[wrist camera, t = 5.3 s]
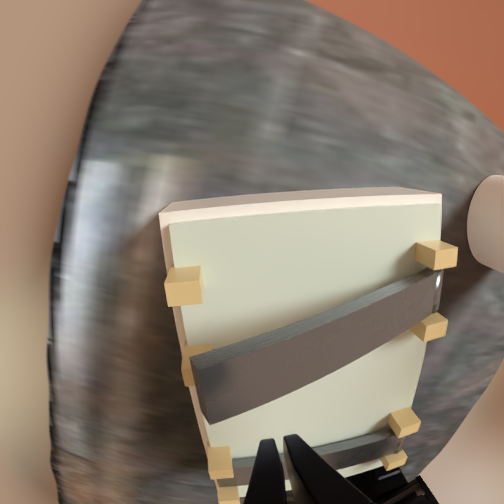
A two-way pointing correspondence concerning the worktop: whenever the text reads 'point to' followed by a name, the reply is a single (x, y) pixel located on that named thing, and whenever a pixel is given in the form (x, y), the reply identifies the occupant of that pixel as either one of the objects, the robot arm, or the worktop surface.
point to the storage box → (302, 306)
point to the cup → (487, 223)
